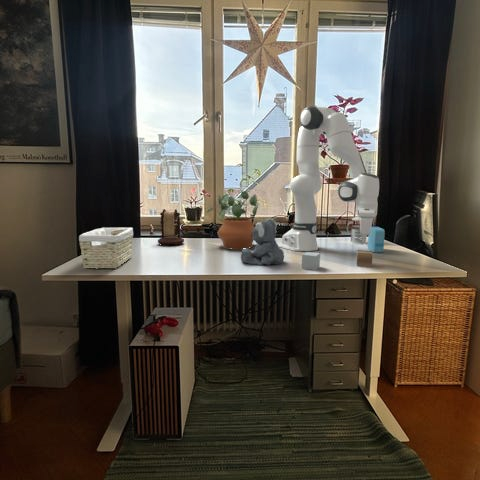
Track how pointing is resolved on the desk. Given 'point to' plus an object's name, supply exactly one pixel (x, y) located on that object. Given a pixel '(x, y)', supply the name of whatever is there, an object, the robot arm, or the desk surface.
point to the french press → (353, 235)
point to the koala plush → (264, 245)
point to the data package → (376, 240)
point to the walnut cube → (364, 258)
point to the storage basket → (106, 247)
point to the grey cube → (311, 260)
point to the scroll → (170, 228)
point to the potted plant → (236, 222)
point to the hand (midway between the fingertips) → (363, 241)
